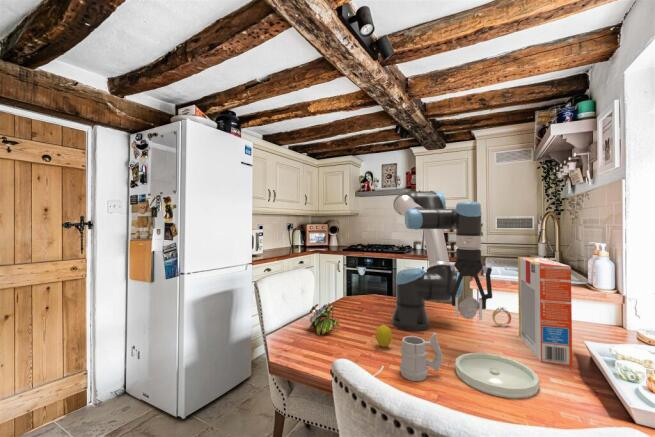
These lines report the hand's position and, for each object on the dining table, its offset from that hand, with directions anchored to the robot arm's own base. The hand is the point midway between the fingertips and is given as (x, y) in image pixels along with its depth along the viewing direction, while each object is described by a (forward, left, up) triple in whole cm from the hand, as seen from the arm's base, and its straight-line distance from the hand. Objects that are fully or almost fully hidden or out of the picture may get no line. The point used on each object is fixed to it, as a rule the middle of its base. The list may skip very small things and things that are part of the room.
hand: (468, 317), depth 99 cm
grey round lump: (0, 0, -1) cm, 1 cm away
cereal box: (+23, +13, -12) cm, 29 cm away
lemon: (-27, -8, -12) cm, 30 cm away
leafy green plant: (-53, -1, -12) cm, 54 cm away
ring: (+13, +32, -12) cm, 37 cm away
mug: (-13, -22, -12) cm, 28 cm away
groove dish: (+6, -15, -12) cm, 20 cm away
